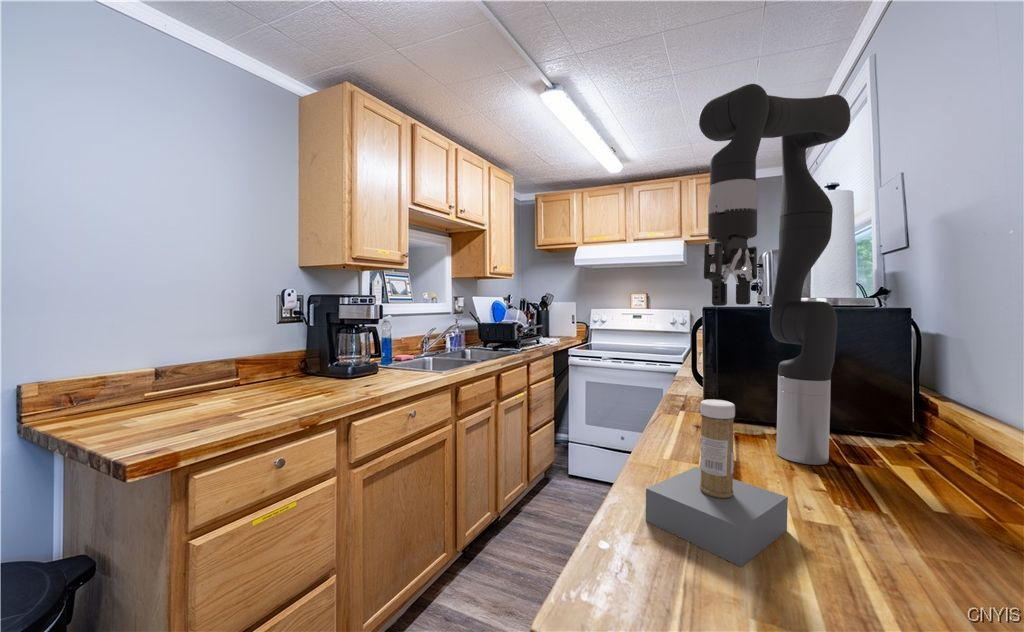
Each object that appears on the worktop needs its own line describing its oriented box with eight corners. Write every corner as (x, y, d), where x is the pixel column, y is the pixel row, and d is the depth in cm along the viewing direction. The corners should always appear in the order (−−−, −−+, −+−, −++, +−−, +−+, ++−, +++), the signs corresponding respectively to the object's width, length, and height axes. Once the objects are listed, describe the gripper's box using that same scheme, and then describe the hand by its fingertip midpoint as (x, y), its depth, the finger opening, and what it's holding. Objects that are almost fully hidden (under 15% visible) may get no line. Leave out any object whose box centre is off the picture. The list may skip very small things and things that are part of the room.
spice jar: (739, 494, 62) (741, 403, 62) (722, 502, 60) (724, 407, 59) (710, 483, 66) (711, 397, 65) (692, 490, 63) (694, 400, 63)
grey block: (695, 495, 73) (695, 466, 72) (786, 530, 61) (787, 496, 61) (645, 520, 64) (645, 488, 64) (741, 567, 53) (741, 527, 53)
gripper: (729, 218, 80) (729, 304, 81) (689, 210, 72) (689, 306, 72) (773, 211, 75) (772, 304, 75) (734, 201, 66) (734, 306, 67)
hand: (731, 305), depth 74 cm, fingers open, 8 cm apart
